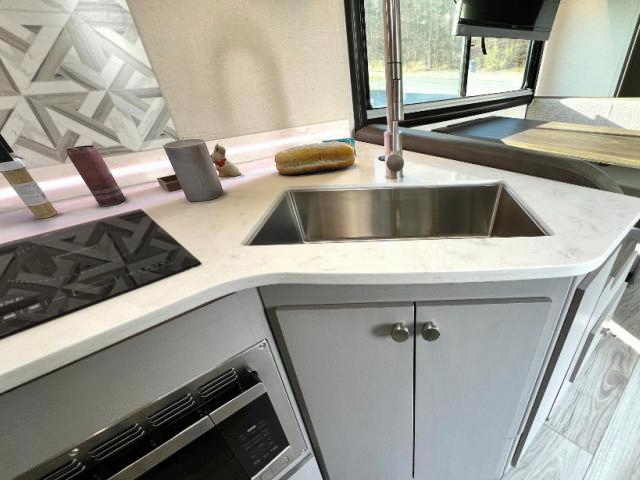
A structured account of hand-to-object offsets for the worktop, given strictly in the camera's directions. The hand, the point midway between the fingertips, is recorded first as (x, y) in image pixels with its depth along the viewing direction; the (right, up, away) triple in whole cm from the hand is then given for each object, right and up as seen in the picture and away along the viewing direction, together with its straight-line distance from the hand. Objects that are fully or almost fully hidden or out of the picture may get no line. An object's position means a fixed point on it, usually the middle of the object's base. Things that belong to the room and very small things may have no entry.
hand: (6, 157), depth 72 cm
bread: (+62, +12, +35) cm, 73 cm away
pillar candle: (+35, -3, +17) cm, 39 cm away
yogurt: (+67, +22, +48) cm, 86 cm away
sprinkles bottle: (0, -11, +8) cm, 14 cm away
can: (+11, -6, +15) cm, 19 cm away
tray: (+23, +4, +26) cm, 35 cm away
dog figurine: (+33, +9, +33) cm, 48 cm away
